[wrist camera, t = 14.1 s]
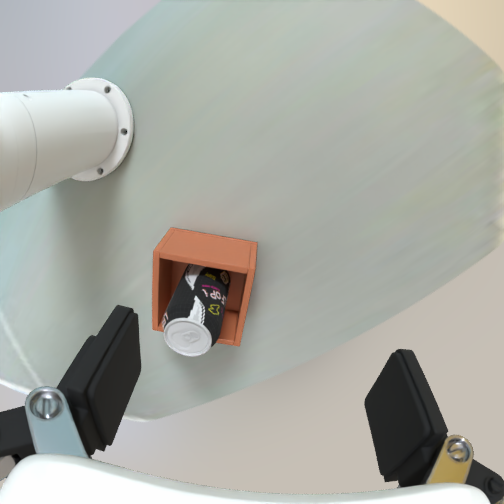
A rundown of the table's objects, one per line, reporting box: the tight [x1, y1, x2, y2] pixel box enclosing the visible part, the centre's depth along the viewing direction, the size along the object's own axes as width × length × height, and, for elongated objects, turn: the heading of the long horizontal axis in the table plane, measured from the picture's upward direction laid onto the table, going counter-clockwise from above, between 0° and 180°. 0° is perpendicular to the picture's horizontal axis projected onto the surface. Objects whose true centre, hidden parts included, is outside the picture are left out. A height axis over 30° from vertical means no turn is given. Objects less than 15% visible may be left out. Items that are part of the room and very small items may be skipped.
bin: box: [152, 228, 257, 346], centre depth 36 cm, size 10×10×7 cm
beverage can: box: [162, 263, 231, 357], centre depth 34 cm, size 6×6×12 cm
